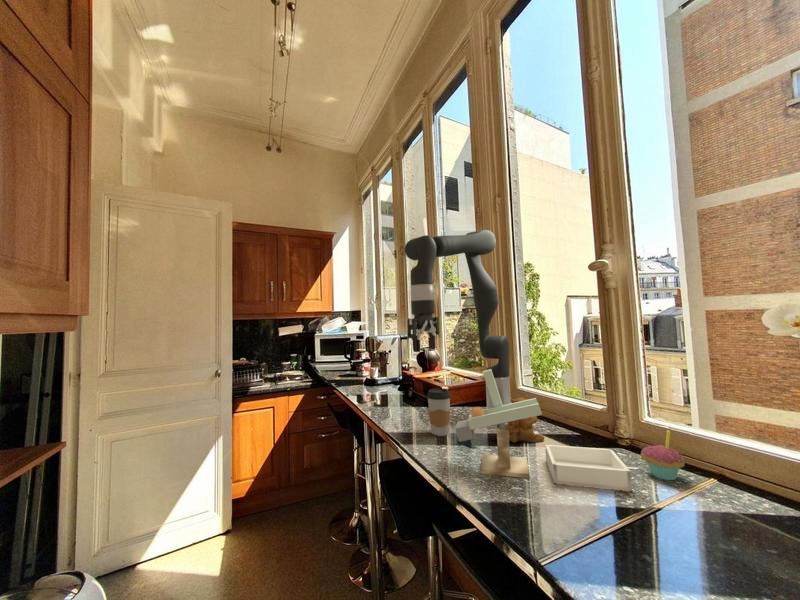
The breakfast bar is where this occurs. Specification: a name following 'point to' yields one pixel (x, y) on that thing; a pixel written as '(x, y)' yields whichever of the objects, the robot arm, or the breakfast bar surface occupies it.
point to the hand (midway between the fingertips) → (424, 350)
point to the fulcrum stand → (504, 459)
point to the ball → (477, 412)
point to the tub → (587, 467)
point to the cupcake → (663, 460)
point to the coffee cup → (439, 411)
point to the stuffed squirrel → (523, 428)
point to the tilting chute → (496, 412)
